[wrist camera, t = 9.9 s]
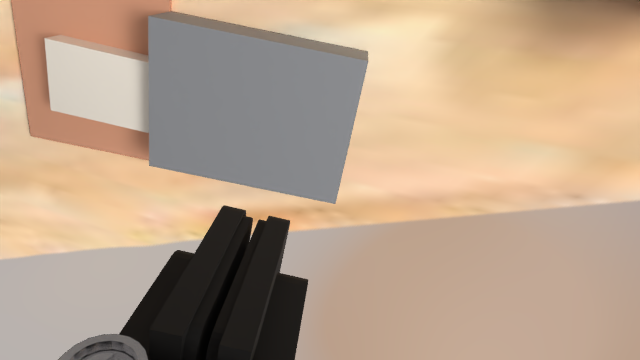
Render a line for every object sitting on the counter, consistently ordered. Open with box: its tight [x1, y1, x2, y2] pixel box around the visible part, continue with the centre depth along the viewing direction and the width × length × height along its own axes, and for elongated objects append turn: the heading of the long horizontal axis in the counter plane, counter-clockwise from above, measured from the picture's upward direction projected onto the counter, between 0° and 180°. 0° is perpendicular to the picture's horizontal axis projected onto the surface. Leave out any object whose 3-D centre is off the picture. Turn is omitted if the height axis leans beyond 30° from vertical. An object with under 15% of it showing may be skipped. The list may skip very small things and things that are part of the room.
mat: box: [11, 0, 171, 160], centre depth 36 cm, size 13×15×1 cm
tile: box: [44, 35, 149, 133], centre depth 35 cm, size 9×6×2 cm, turn 78°
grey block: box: [148, 11, 368, 204], centre depth 34 cm, size 16×12×4 cm
